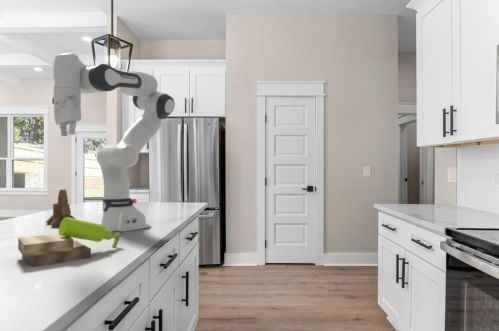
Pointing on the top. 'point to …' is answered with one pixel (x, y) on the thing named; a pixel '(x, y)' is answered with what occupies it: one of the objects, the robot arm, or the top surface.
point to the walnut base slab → (60, 256)
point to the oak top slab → (44, 244)
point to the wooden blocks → (60, 210)
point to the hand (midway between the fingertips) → (67, 135)
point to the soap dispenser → (86, 231)
